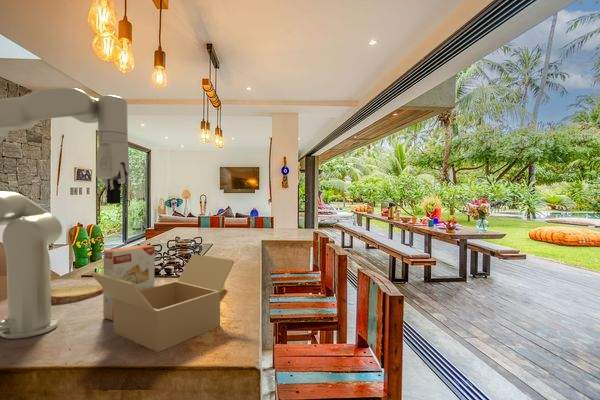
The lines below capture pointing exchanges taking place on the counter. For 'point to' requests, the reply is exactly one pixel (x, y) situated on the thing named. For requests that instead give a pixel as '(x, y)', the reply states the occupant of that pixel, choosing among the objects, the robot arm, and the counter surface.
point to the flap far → (206, 272)
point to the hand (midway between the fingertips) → (113, 203)
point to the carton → (168, 315)
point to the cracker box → (128, 270)
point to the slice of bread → (74, 293)
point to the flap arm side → (123, 291)
